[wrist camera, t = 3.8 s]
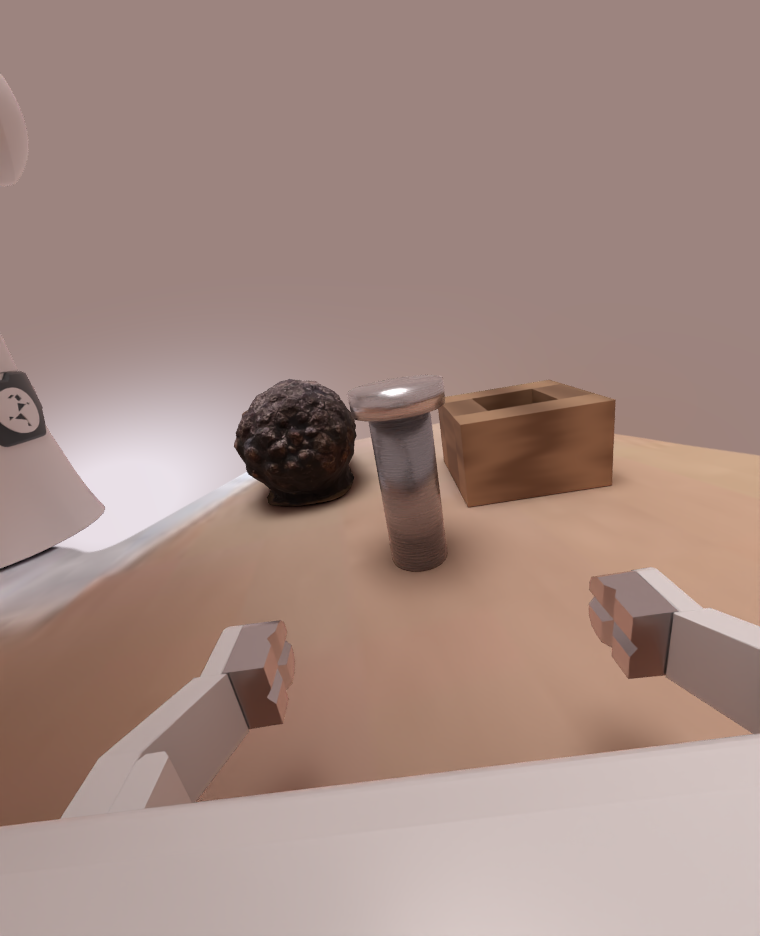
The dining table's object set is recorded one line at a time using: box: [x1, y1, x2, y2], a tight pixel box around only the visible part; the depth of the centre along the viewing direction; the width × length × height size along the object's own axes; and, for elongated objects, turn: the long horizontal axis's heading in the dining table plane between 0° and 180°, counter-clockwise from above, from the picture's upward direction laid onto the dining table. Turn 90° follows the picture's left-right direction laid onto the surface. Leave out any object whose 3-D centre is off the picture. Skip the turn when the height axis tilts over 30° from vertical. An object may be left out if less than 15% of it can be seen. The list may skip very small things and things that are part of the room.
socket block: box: [438, 380, 615, 507], centre depth 31 cm, size 10×10×6 cm
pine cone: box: [234, 379, 356, 506], centre depth 37 cm, size 10×18×10 cm, turn 15°
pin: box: [347, 375, 447, 571], centre depth 21 cm, size 5×5×10 cm
